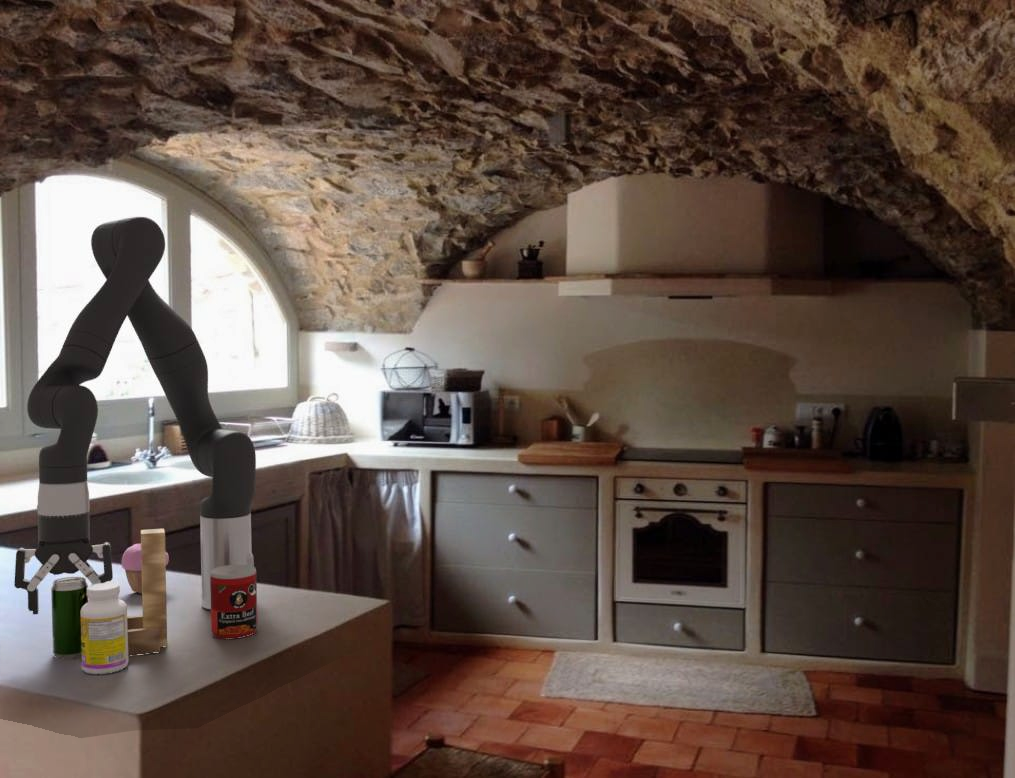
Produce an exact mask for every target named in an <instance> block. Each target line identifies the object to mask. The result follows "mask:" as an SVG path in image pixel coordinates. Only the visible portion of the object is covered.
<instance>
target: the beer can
mask: <svg viewBox="0 0 1015 778" xmlns="http://www.w3.org/2000/svg"><path fill="white" fill-rule="evenodd" d="M88 586H89V585H88V583H87V577H85V576H67V577H60V578H57V579H54V580H53V581H52V586H51V588H50V589H51V596H50V597H51V622H52V623H51V625H52V626H51V627H52V629H51V630H52V653H53V655H54V656H56V657H58V658H57V659H59V658H64V659H63V660H72V659H76V658H77V659H78V658H81V657H82V649H81V614H80V612H81V608H82V607H83V605H85V604H86V603H88V601H89V598H88V596H87V587H88ZM80 656H81V657H80ZM56 657H55V658H56Z"/></svg>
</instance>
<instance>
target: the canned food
mask: <svg viewBox="0 0 1015 778" xmlns="http://www.w3.org/2000/svg"><path fill="white" fill-rule="evenodd" d="M257 582H258V580H257V569H256V566H254V567H253V566H250V565H226V566H221V567H217V568H214V569H212V570H211V574H210V590H211V609H210V619H211V621H210V624H211V627H210V629H211V630H210V631H211V633H212V635H213V637H215V638H217V637H218V638H217V639H221V638H223V639H222V640H229V639H228V638H238V637H243V636H247V635H250V634H252V633H254V632H255V631H257V628H258V602H257V601H258V595H257V593H258V591H257V590H258V589H257V586H258V583H257ZM255 633H256V632H255ZM255 633H254V634H255ZM252 635H253V634H252ZM250 636H251V635H250ZM247 637H248V636H247ZM226 638H227V639H226ZM238 639H239V638H238Z"/></svg>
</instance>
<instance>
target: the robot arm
mask: <svg viewBox="0 0 1015 778" xmlns="http://www.w3.org/2000/svg"><path fill="white" fill-rule="evenodd" d="M90 243H91V244H90V245H91V251H92V254H93V256H94V259H95V262H96V264H97V266H98V268H99V269H100V271H101V273H102V275H103V276H104V278H105V279H106V280H105V282H104V283H103V285H102V286H101V287H100V288H99V290H98V291H97V292H96V293H95V295H94V296H93V297H92V298H91V299H90V300H89V301H88V303H86V305H85V306H84V307H83V308H82V309H81V311H80V312H79V314H78V315H77V317H76V318H75V319H74V321H73V323H72V325H70V326H71V327H70V328H69V330H68V333H67V336H66V338H65V340H64V342H63V344H62V346H61V349H60V352H59V354H58V356H57V357H56V358H55V359H54V361H52V362H51V364H49V366H48V368H47V369H46V370H45V371H44V373H43V374H42V375H41V377H40V378H39V379H38V380H37V382H36V383H35V384H34V386H33V387H32V389H31V390H30V393H29V395H28V398H27V399H28V400H27V406H26V408H27V409H26V410H27V416H28V418H29V419H30V422H31V423H32V424H34V425H35V426H37V427H39V428H42V429H54V430H55V429H57V430H58V429H59V430H60V433H59V435H58V438H57V441H56V443H52V444H48V445H46V446H43V447H42V448H41V449H40V451H39V454H38V476H39V477H38V479H39V481H38V492H37V505H36V510H37V538H38V539H37V541H38V542H37V546H36V548H24V547H19V548H18V549H17V551H16V553H15V567H14V584H13V585H14V587H15V588H16V589H22V590H26V592H27V609H28V611H29V612H32V615H39V611H40V610H39V607H40V606H39V588H38V587H39V585H40V583H41V582H42V581H43V580H44V579H45V578H46V577H47V576H48V574H52V575H53V576H56V575H57V576H58V575H62V574H68V575H69V574H70V575H72V574H74V575H75V574H76V573H77V572H80V573H81V574H82V576H83V577H84V578H86V579H88V581H89V582H90V584H91V585H94V584H99V583H108V582H111V581H112V580H113V577H114V575H113V573H114V572H113V562H112V551H111V550H112V549H111V543H110V542H108V541H105V542H103V543H102V544H95V545H93V544H92V542H91V537H90V536H91V534H90V533H91V532H90V525H91V524H90V523H91V521H90V505H91V503H90V492H89V491H90V490H89V486H88V485H89V484H88V453H89V449H90V446H91V444H92V443H91V442H92V439H93V435H94V432H95V427H96V424H97V421H98V420H97V419H98V415H99V408H98V407H99V406H98V401H97V398H96V396H95V394H94V393H93V391H92V390H91V389H90V388H88V387H87V386H85V385H82V384H83V383H86V382H88V381H93V380H96V379H97V378H99V377H100V376H101V374H102V373H103V370H104V368H105V366H106V364H107V361H108V358H109V357H110V354H111V351H112V349H113V346H114V344H115V341H116V340H117V337H118V335H119V332H120V331H121V328H122V325H124V322H125V320H126V319H127V318H128V320H129V321H130V324H131V326H132V328H133V330H134V331H135V333H136V336H137V338H138V341H140V344H141V346H142V348H143V351H144V353H145V356H146V358H147V360H148V363H149V364H150V367H151V369H152V371H153V372H154V374H155V376H156V379H157V380H158V381H159V384H160V386H161V388H162V390H163V393H164V395H165V397H166V400H167V401H168V404H169V406H170V408H171V409H172V411H173V413H174V416H175V418H176V420H177V423H178V425H179V430H180V431H181V435H182V438H183V440H184V444H185V447H186V449H187V453H188V455H189V458H190V460H191V462H192V464H193V467H195V468H196V470H197V471H198V472H199V473H201V474H202V475H204V476H205V477H210V478H212V485H211V493H210V495H209V496H208V497H205V498H203V499H202V500H201V501H200V506H199V511H200V512H199V513H200V514H199V515H200V516H199V519H200V520H199V522H200V523H199V525H200V567H201V568H200V569H201V570H200V571H201V573H200V574H201V575H200V576H201V606H202V607H203V608H204V609H206V610H211V590H210V574H211V570H212V569H214V568H217V567H221V566H226V565H250V566H253V567H255V566H254V565H255V563H254V554H253V553H252V513H251V512H252V504H253V502H254V499H255V495H256V494H255V493H256V470H257V469H256V467H257V455H256V449H255V446H254V445H255V444H254V442H253V440H252V439H251V438H250V436H249V435H247V434H246V433H244V432H242V431H239V430H238V431H237V430H230V429H225V428H223V427H222V425H221V424H220V422H219V420H218V418H217V416H216V414H215V412H214V410H213V407H212V404H211V402H210V398H209V368H208V361H207V359H206V356H205V354H204V351H203V349H202V347H201V345H200V342H199V340H198V339H197V335H196V334H195V332H194V330H193V328H192V327H191V325H190V324H189V323H188V322H187V321H186V320H185V319H184V318H183V317H182V316H181V315H180V314H179V313H178V312H177V311H176V310H174V309H173V308H172V307H171V306H170V305H169V304H168V303H167V302H166V301H164V299H163V298H161V296H160V295H159V294H158V293H157V292H156V290H155V289H154V287H153V286H152V284H151V282H150V278H151V277H152V275H153V274H154V272H155V271H156V269H157V268H158V266H159V264H160V262H161V260H162V259H163V256H164V253H165V249H166V239H165V234H164V232H163V230H162V229H161V226H160V225H159V224H158V223H157V222H156V221H155V220H153V219H151V218H149V217H147V216H141V215H139V216H128V217H125V218H121V219H116V220H111V221H107V222H104V223H101V224H99V225H98V226H96V227H95V228H94V230H93V232H92V234H91V239H90ZM93 553H95V554H97V557H98V558H99V559H103V561H102V563H103V573H101V574H99V573H97V572H96V571H95V569H94V568H93V566H92V565H91V564H89V562H88V560H89V559H90V557H91V556H92V554H93ZM32 557H35V558H36V560H37V561H38V562H39V563H40V564H41V566H40V567H39V568H38V570H37V571H36V572H35V574H34V575H33V577H32V578H31V579H26V578H25V571H26V564H28V563H29V562H30V561H31V560H32Z"/></svg>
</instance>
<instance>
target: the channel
mask: <svg viewBox="0 0 1015 778" xmlns="http://www.w3.org/2000/svg"><path fill="white" fill-rule="evenodd" d="M127 628H128V656H130V655H137V654H146V653H153V652H160V653H161V649H160V639H159V627H150V628H143V614H141V615H140V614H139V615H138V614H137V615H127ZM130 657H131V656H130Z"/></svg>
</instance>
